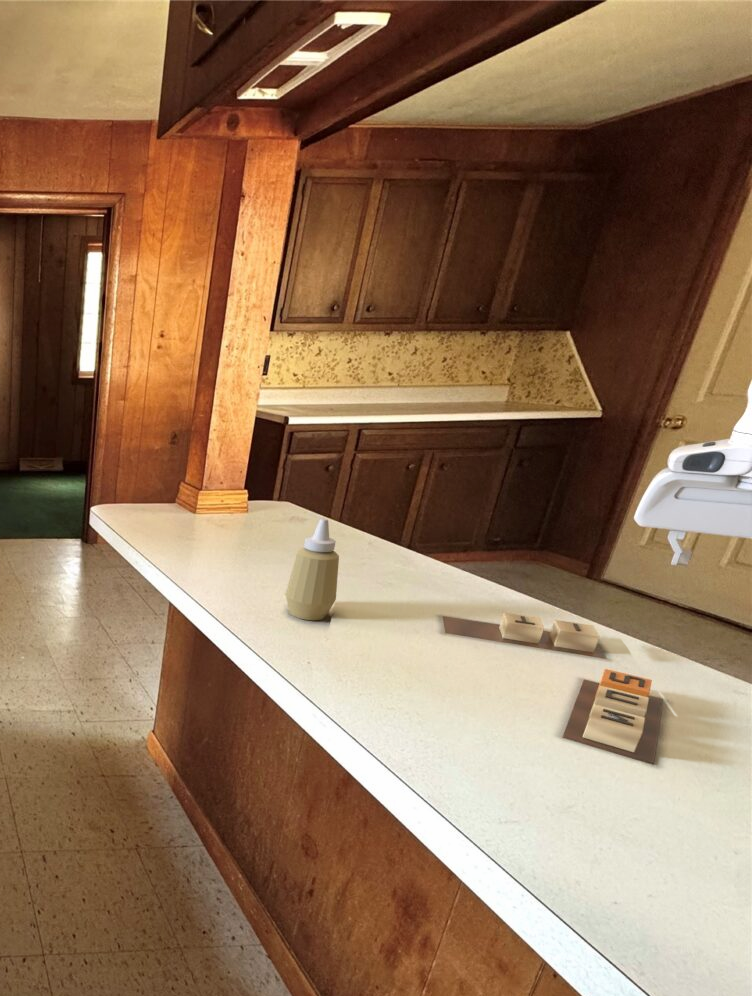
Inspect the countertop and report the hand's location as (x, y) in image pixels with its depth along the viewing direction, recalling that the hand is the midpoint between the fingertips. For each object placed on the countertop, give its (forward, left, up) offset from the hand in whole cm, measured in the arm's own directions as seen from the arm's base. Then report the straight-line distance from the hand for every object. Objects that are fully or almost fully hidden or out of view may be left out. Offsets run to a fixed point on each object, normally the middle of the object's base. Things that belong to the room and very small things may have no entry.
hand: (735, 572), depth 80 cm
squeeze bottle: (+22, -41, -20) cm, 51 cm away
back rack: (-2, -22, -20) cm, 30 cm away
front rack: (+10, 0, -20) cm, 22 cm away
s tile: (+5, -3, -19) cm, 20 cm away
